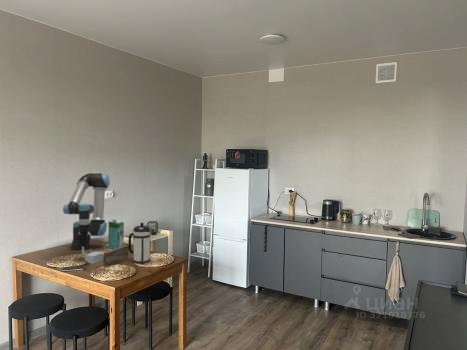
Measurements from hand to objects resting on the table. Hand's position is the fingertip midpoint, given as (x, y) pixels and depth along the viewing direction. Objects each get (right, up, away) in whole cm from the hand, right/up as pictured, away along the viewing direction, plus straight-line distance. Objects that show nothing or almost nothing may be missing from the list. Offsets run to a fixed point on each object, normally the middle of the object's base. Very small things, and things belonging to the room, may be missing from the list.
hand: (84, 254), depth 267 cm
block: (+9, -5, -3) cm, 11 cm away
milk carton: (+15, -3, +29) cm, 33 cm away
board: (+26, -5, -4) cm, 27 cm away
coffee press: (+43, -5, -1) cm, 43 cm away
